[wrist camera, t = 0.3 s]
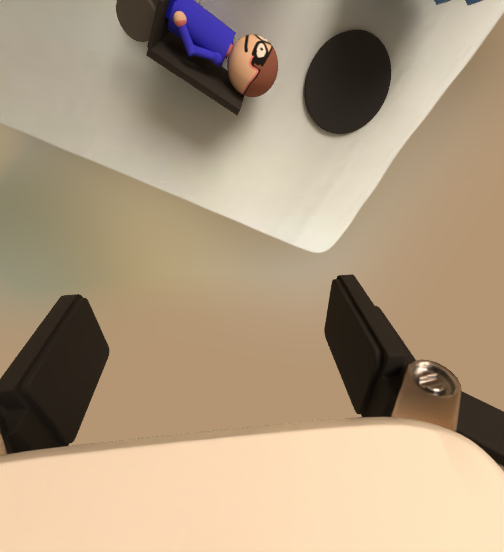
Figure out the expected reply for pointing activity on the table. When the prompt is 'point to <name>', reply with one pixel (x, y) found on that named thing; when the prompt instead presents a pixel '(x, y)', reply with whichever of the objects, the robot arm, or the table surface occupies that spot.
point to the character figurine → (201, 49)
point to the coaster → (347, 81)
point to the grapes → (468, 0)
